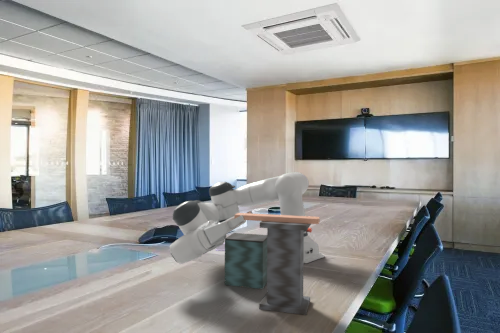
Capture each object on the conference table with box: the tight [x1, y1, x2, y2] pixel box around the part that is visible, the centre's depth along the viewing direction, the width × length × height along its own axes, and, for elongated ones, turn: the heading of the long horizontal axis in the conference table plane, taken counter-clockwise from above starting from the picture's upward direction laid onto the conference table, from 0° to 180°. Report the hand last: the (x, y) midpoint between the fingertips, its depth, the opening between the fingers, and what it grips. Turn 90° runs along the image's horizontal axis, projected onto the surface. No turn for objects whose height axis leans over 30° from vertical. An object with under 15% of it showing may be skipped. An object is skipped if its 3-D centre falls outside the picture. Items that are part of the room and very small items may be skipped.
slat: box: [234, 212, 321, 225], centre depth 108 cm, size 26×4×2 cm, turn 74°
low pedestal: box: [224, 232, 267, 290], centre depth 128 cm, size 14×10×17 cm
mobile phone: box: [215, 242, 225, 252], centre depth 179 cm, size 8×1×15 cm
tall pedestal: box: [258, 221, 312, 316], centre depth 108 cm, size 14×10×26 cm
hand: (247, 215), depth 111 cm, fingers open, 8 cm apart
